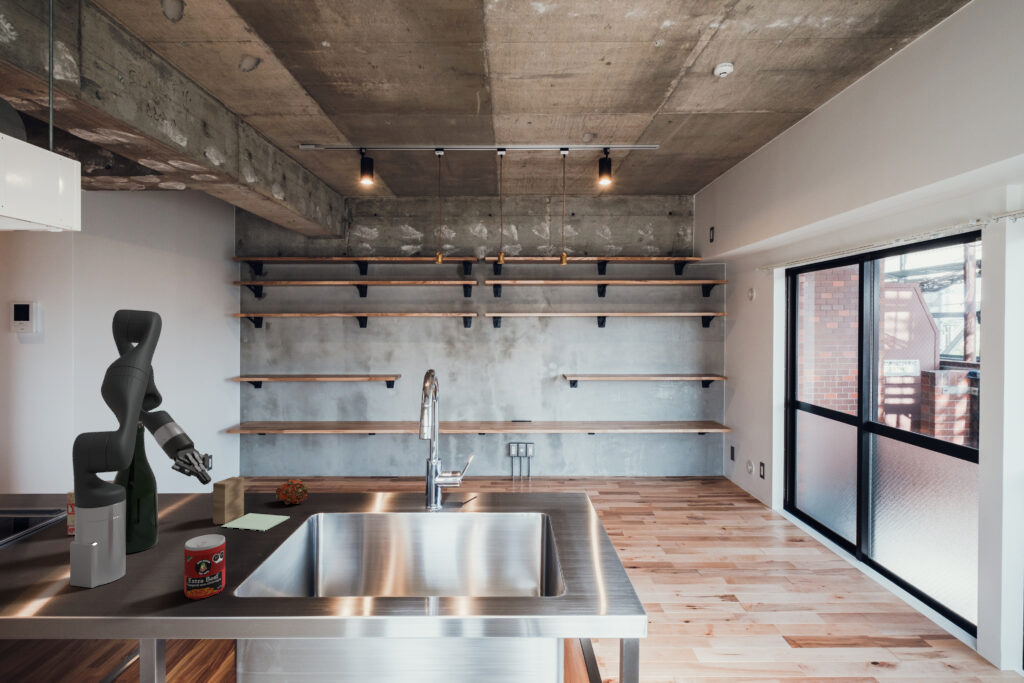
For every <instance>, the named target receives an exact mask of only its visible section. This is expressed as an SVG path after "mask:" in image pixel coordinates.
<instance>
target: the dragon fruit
mask: <svg viewBox="0 0 1024 683" xmlns="http://www.w3.org/2000/svg"><path fill="white" fill-rule="evenodd" d="M275 492H276V493H277V494H276V495H275V498H276V500H278V501H279V500H280V501H283V500H284V504H285V505H291V503H292V504H294V505H299V504H300V503H302V502H301V501H306V500H308V495H309V494H310V493H311V492H310V491H309V488H308V486H307V485H306V484H305V483H304V482H303V481H302V480H300V479H299V478H298V479H297V478H296V479H288V481H287V482H286V483H283V484H281V486H279V487H277V488H276V490H275ZM279 493H280V494H279ZM286 493H296V494H286ZM298 493H309V494H298Z"/></svg>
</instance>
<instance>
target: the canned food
mask: <svg viewBox="0 0 1024 683" xmlns="http://www.w3.org/2000/svg"><path fill="white" fill-rule="evenodd" d="M183 549H184V550H183V551H184V554H183V556H184V558H183V560H184V564H183V567H184V569H183V570H184V571H183V572H184V576H183V577H184V578H183V579H184V581H183V583H184V586H183V587H184V589H183V590H184V592H183V593H184V595H185V597H186V598H187V597H188V598H187V599H189V598H194V599H193V600H196V599H195V598H205V599H207V598H206V597H209V596H212V595H214V594H217V593H218V594H220V593H221V592H222V591H223V590H224V589H223V588H225V586H226V537H225V535H222V534H213V533H212V534H205V535H199V536H195V537H193V538H191V539H189V540H187V541H186V542H185V543H184V548H183ZM220 591H221V592H220ZM219 592H220V593H219ZM218 594H217V595H218ZM214 596H215V595H214ZM212 597H213V596H212ZM209 598H210V597H209Z"/></svg>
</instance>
